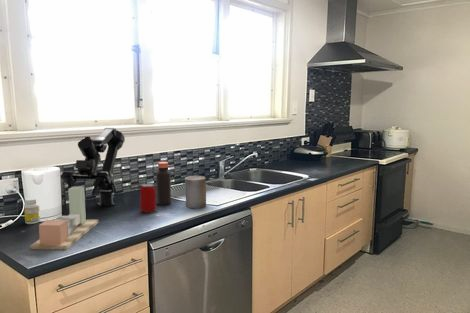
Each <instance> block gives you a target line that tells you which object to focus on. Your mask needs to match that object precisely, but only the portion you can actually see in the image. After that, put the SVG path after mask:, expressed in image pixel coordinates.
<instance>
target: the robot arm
mask: <svg viewBox="0 0 470 313" xmlns="http://www.w3.org/2000/svg"><path fill="white" fill-rule="evenodd" d="M125 138H126V137H125V135H124V134H123V132H121V131H119V130H118V129H116V128H115V127H104V129H103V131H102V132H100V134H99V135H98V136H97V137H93V138H92V137H90V136H85V137H84V138H82V139H80V141H78V142H77V147H78V149H79V151H80V152H81V155H82V156H83V157H84V159H82V160H81V159H77V160H76V161H75V169H77V172H78V174H75V172H74V171H72V170H70V171H67V170H65V171H63V172H61V175H60V177H61V178H62V180H63V181H64V183H65V184H67V189H69V188H71V187H76V182H77V180H78V181H79V180H80V181H81V180H82V181H83V180H85V181H94V182H93V189H92V192H91V196H92V197H94V196H95V195H96V194H99V202H97V204H98V205H99V206H100V207H101V208H103V207H110V206H115V205H116V203H114V202H113V201H114V200H113V194H115V193H117V190H118V189H117V184H116V183H115V182H116V181H115V179H114V176H113V171H114V167H115V163H116V159H117V155H118V151H119V150H120V149H121V148H122V147H123V145H124V143H125ZM104 152H106V154H105V158H104V162H103V166H102V169H101V171H99V169H98V167H99V166H98V165H99V164H100V163H99V162H101V161H102V158H101V154H100V153H102V154H103V153H104Z"/></svg>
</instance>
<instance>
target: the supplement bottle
mask: <svg viewBox="0 0 470 313" xmlns="http://www.w3.org/2000/svg"><path fill="white" fill-rule="evenodd" d="M36 203H37V202H36V199H28V198H26V199H25V204H24V207H23V209H24V210H23V211H24V222H25V224H27V225H32V224H37V223H39V222H40V221H41V215H40V216H39V211H40V205H39V206H38V205H37V204H36Z"/></svg>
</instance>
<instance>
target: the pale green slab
mask: <svg viewBox="0 0 470 313" xmlns="http://www.w3.org/2000/svg"><path fill="white" fill-rule="evenodd" d="M67 189H68V188H67ZM67 192H68V206H69V207H68V208H69V214H68V215H67V216H76V226H77V225H78V224H83V223H84V222H85V221H86V199H85V198H86V197H85V196H86V195H85V186H75V187H71V188H69V189H68V190H67Z"/></svg>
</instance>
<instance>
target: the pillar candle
mask: <svg viewBox="0 0 470 313" xmlns="http://www.w3.org/2000/svg"><path fill="white" fill-rule="evenodd" d="M184 179H185V180H184V181H185V182H184V184H185V187H184V188H185V207H186V208H187V209H202V208H205V207H206V206H207V183H206V180H207V178H206V176H203V175H189V176H186V177H184Z"/></svg>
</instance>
